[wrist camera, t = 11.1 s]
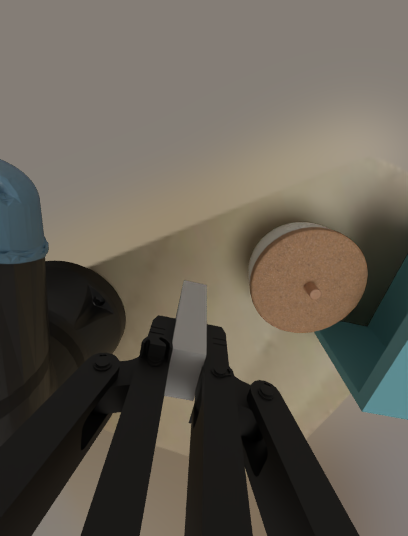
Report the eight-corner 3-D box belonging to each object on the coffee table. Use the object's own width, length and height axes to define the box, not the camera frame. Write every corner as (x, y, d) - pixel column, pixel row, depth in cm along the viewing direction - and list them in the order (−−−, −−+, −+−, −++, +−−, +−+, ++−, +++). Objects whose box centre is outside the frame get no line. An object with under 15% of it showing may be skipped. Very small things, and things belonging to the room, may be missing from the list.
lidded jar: (233, 222, 31) (244, 250, 22) (330, 202, 30) (381, 222, 21) (248, 303, 35) (262, 353, 26) (333, 287, 34) (377, 333, 25)
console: (306, 319, 35) (361, 411, 23) (359, 202, 29) (473, 238, 17) (370, 332, 36) (457, 428, 24) (433, 220, 30) (597, 268, 18)
